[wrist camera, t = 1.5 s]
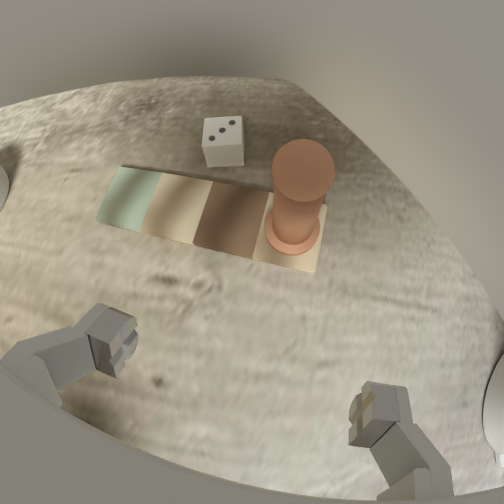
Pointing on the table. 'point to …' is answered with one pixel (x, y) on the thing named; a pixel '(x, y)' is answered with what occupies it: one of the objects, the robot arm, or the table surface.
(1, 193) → the ramekin
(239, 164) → the die
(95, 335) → the robot arm
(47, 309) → the table surface
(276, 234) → the round-topped peg
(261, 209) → the board
